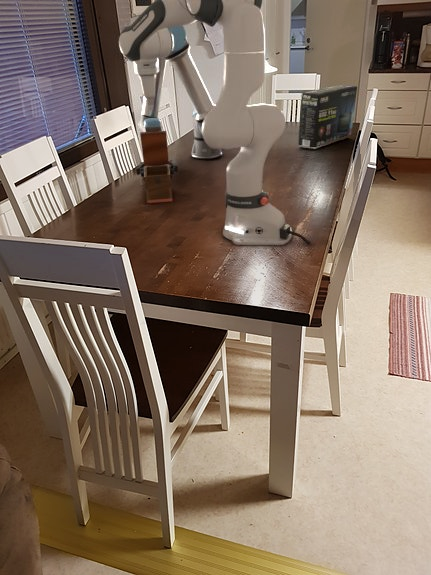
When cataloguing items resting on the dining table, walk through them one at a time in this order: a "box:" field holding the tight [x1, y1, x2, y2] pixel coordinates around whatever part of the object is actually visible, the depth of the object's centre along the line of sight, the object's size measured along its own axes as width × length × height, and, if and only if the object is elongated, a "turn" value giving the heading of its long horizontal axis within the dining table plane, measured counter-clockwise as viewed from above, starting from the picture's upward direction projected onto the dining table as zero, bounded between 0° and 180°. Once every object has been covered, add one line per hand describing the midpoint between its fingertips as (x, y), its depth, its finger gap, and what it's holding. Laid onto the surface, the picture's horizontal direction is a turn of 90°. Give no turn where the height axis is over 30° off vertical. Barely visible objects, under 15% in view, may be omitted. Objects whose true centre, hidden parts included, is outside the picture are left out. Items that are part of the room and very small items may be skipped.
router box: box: [297, 84, 358, 151], centre depth 238 cm, size 36×11×27 cm, turn 134°
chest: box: [143, 165, 174, 204], centre depth 180 cm, size 14×10×10 cm
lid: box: [139, 125, 170, 166], centre depth 180 cm, size 14×10×8 cm
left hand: (157, 175), depth 182 cm, fingers closed on chest, 10 cm apart
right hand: (150, 108), depth 171 cm, fingers open, 5 cm apart
